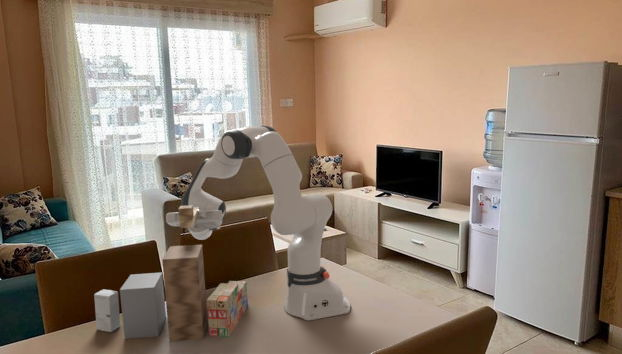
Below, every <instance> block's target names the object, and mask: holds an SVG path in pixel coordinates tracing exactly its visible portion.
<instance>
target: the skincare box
mask: <svg viewBox="0 0 622 354" xmlns="http://www.w3.org/2000/svg"><path fill="white" fill-rule="evenodd" d="M93 297H94V310H95V311H94V312H95V323H96V325H95V326H96V330H97V331H102V332H108V333H112V332H114V331H115V330H117V329H118V328H119V327H120V326H121V318H120V303H119V292H118V291H116V290H112V289H104V288H103V289H101V290H99V291H97V292H95V293H94V295H93Z"/></svg>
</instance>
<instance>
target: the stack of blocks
mask: <svg viewBox="0 0 622 354" xmlns="http://www.w3.org/2000/svg"><path fill="white" fill-rule="evenodd" d="M247 288H248V287H247V280H246V281H244V280H243V281H242V280H241V281H240V280H237V281H236V280H229V281H228V282H227V283H226V282H225V283H224V282H223V283H222V282H221V283H219V284H218V286H217V287H216V288H215V289H214V291H212V293H211V294H210V295H209V296H208V297H207V298H206V307H207V323H208V335H209V337H215V338H216V337H217V338H219V337H220V338H229V336H230V335H231V334H232V333H233V331H234V329H235V327H236V326H237V324H238V323H239V321H240V319H241V318H242V315H244V313H245V311H246V310H247V309H248V307H249V302H248V300H249V299H248V296H249V295H248V289H247Z"/></svg>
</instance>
